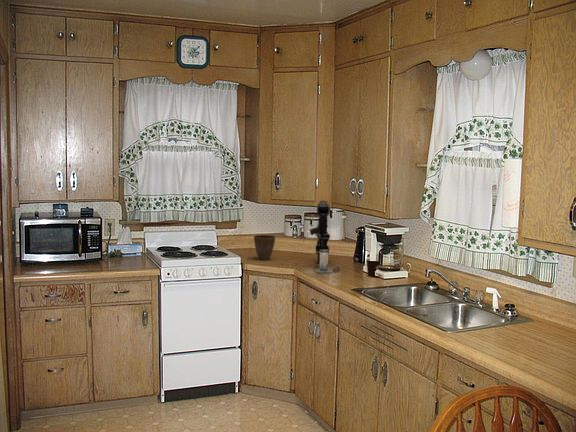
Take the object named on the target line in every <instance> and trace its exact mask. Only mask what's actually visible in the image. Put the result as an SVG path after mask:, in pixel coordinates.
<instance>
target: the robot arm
mask: <svg viewBox="0 0 576 432" xmlns="http://www.w3.org/2000/svg"><path fill="white" fill-rule="evenodd" d="M330 214H331V208H330V205H329V203H328V201H327V200H320V201H319V203H318V204H317V205H316V215H317V217H318V224H317V226H316V227H313V228H310V229H309V233H310V235H311V236H313V235H315V237H317V238H318V240H317V242H316V245H315V255H317V257H316V260H315V262H316V263H317V264H320V249H327V250H328V255H330V247H329V245H328V241H330V238H331V235H330V234H329V233H328V228H329V227H328V217H329V216H330Z"/></svg>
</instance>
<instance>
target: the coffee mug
mask: <svg viewBox="0 0 576 432" xmlns="http://www.w3.org/2000/svg"><path fill="white" fill-rule="evenodd" d="M370 259H371V258H367V259H366V268H367V277H369V276H371V277H372V278H375V277H374V276H375V271H376V270H377V269H378V267H379V263H380V264H381V262H380V261H370ZM371 277H370V278H371Z"/></svg>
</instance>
